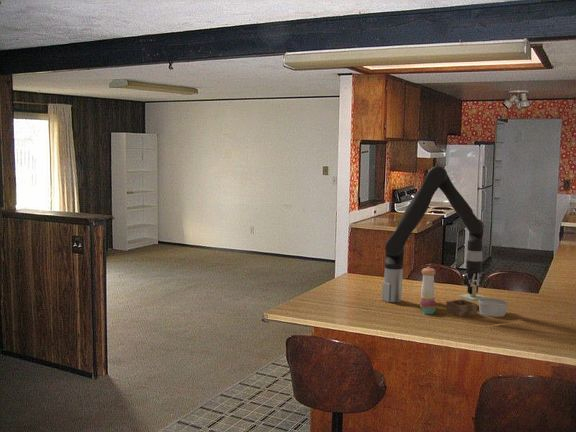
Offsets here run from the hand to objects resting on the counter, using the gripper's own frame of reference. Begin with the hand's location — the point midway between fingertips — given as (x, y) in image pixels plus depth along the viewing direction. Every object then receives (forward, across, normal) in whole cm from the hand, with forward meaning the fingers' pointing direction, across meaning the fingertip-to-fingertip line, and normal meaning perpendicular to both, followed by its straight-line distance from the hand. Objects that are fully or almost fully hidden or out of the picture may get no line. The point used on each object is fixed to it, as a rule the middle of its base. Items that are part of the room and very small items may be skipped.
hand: (472, 293), depth 304 cm
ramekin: (+8, 0, -14) cm, 16 cm away
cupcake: (+8, -28, -1) cm, 29 cm away
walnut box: (+8, -14, -8) cm, 18 cm away
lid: (+2, 0, 0) cm, 2 cm away
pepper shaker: (+8, -15, +16) cm, 23 cm away
